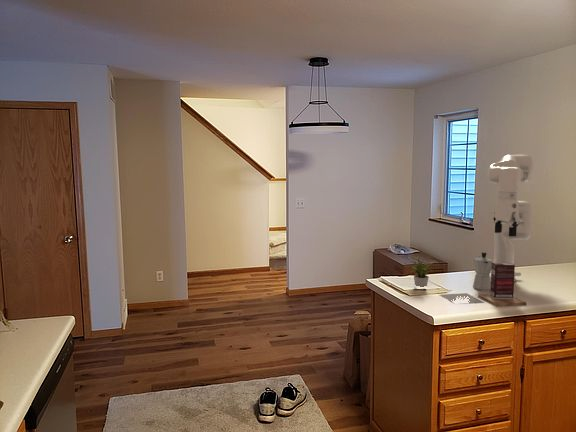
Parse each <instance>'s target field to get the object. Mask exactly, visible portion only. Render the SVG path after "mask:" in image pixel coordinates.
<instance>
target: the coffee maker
mask: <svg viewBox="0 0 576 432" xmlns="http://www.w3.org/2000/svg"><path fill="white" fill-rule="evenodd" d="M473 261H474V272H475V275H474V279H473V284H472V288H473V289H475V290H479V291H490V289H491V279H490V275H491V266H492V263H494V259H491V258H488V257H487V252H481V256H478V257H474V259H473Z"/></svg>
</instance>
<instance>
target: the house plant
mask: <svg viewBox="0 0 576 432" xmlns="http://www.w3.org/2000/svg"><path fill="white" fill-rule="evenodd" d="M416 258H417V262H416V260H415V259H414V258H413V257H411V259H412V260H411V259H409V262H411V265H413V266H412V269H410V273H412V272H415V273H416V274H414V275H413V278H414V279H413V280H414V286H415V285H416V286H420V287H424V286H427V287H428V282H429V276H428V274H429V273H432V271H433V269H431V268H428V267H429V266H431V265H432V264H433V263H434V262H436V260H435V261H432V262H430V263H429V260H426V262H425V264H424V265H423V261H424V260H421V261H420V259H419V257H418V256H416ZM423 258H425V256H424V257H423ZM407 269H409V268H407Z"/></svg>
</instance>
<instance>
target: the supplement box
mask: <svg viewBox="0 0 576 432" xmlns="http://www.w3.org/2000/svg"><path fill="white" fill-rule="evenodd" d="M515 267H516V266H515V264H512V263H494V262H493V263H492V266H491V273H490V275H491V289H490V290H489V291H490V292H489V294H490V297H492V298H493V299H513V297H514V295H515V293H514V292H515V289H514V288H515V282H514V272H516V271H515V269H516V268H515Z"/></svg>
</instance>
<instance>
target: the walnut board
mask: <svg viewBox="0 0 576 432" xmlns="http://www.w3.org/2000/svg"><path fill="white" fill-rule="evenodd" d="M477 298H478V299H480V300H483V301H484V302H487V303H488V304H491V305H493V306H495V307H497V308H499V307H512V306H514V307H515V306H526V305H527V302H526V301H524V300H522V299H519V298H517V297H516V296H513V299H493V298H492V297H490V293H483V294H482V293H481V294H480V293H479V294H477Z"/></svg>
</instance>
